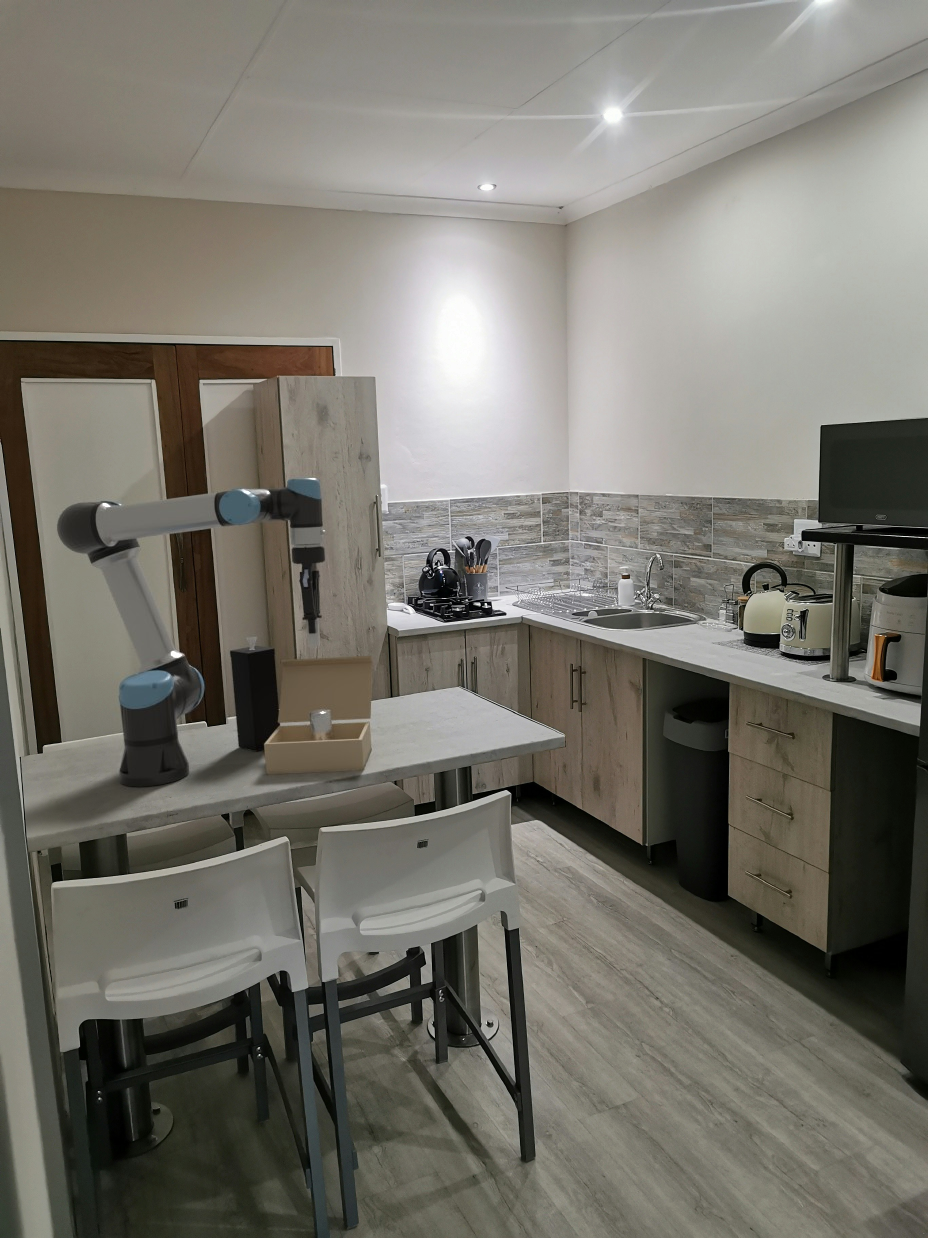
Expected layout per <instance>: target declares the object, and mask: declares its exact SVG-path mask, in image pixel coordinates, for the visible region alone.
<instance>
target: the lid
mask: <svg viewBox="0 0 928 1238" xmlns="http://www.w3.org/2000/svg"><path fill="white" fill-rule="evenodd" d="M281 663H282V664H281V665H282V668H283V669H282V676H281V677H282V678H281V687H280V690H281V691H280V695H279V696H280V699H279V716H278V723H280V724H283V723H284V724H286V723H306V722H309V723H310V714H309V713H310V712H311V711H315V710H330V711H331V721H349V720H367V719H368V720H369V719H371V718H372V715H371V713H372V695H373V694H372V690H373V689H372V687H373V657H372V655H361V656H359V655H356V656H339V657H318V658H317V657H316V658H300V659H299V658H296V659H281Z"/></svg>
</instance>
